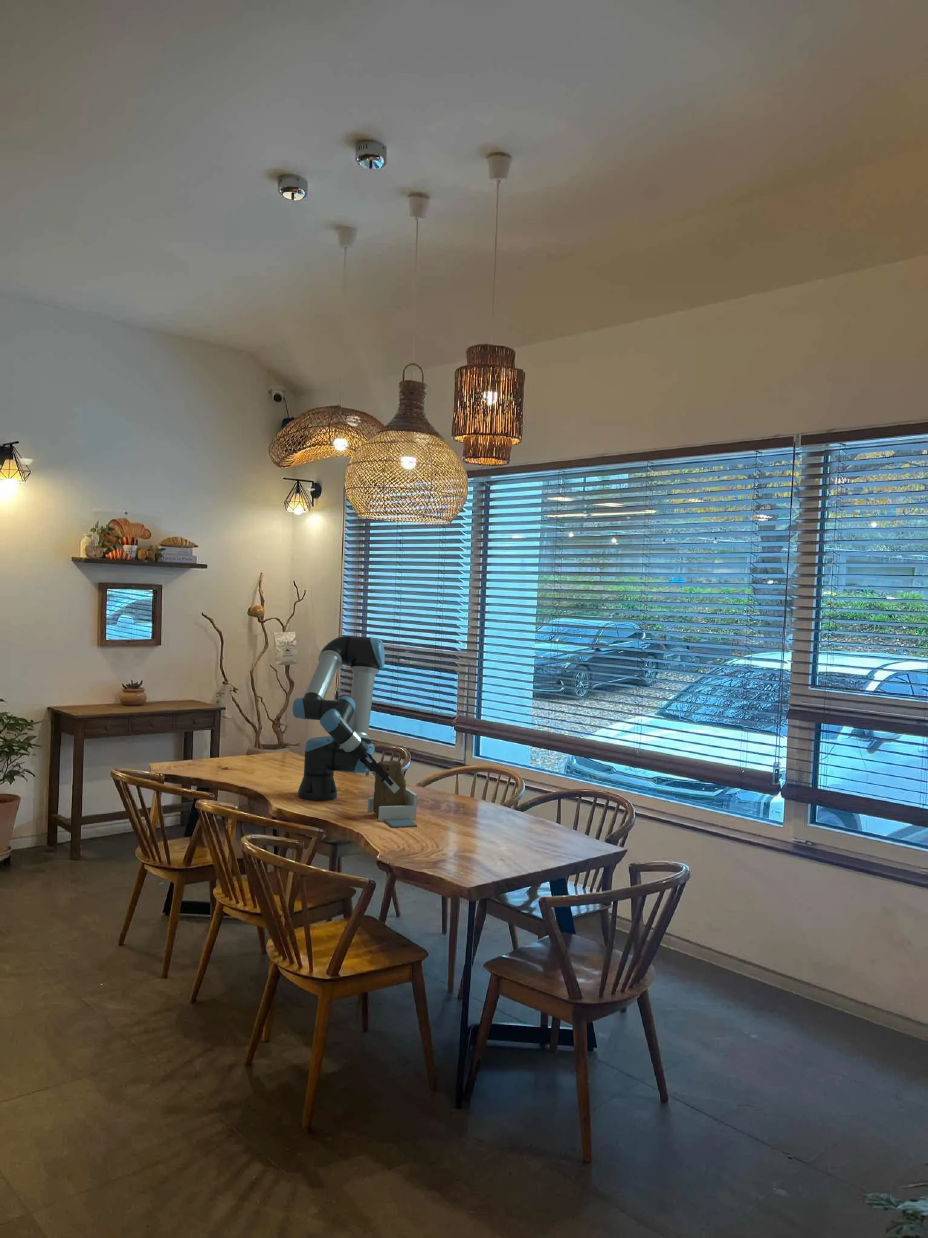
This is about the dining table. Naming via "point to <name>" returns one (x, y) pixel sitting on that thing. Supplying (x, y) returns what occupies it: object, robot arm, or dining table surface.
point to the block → (383, 792)
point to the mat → (400, 823)
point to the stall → (397, 808)
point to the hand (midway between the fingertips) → (391, 786)
